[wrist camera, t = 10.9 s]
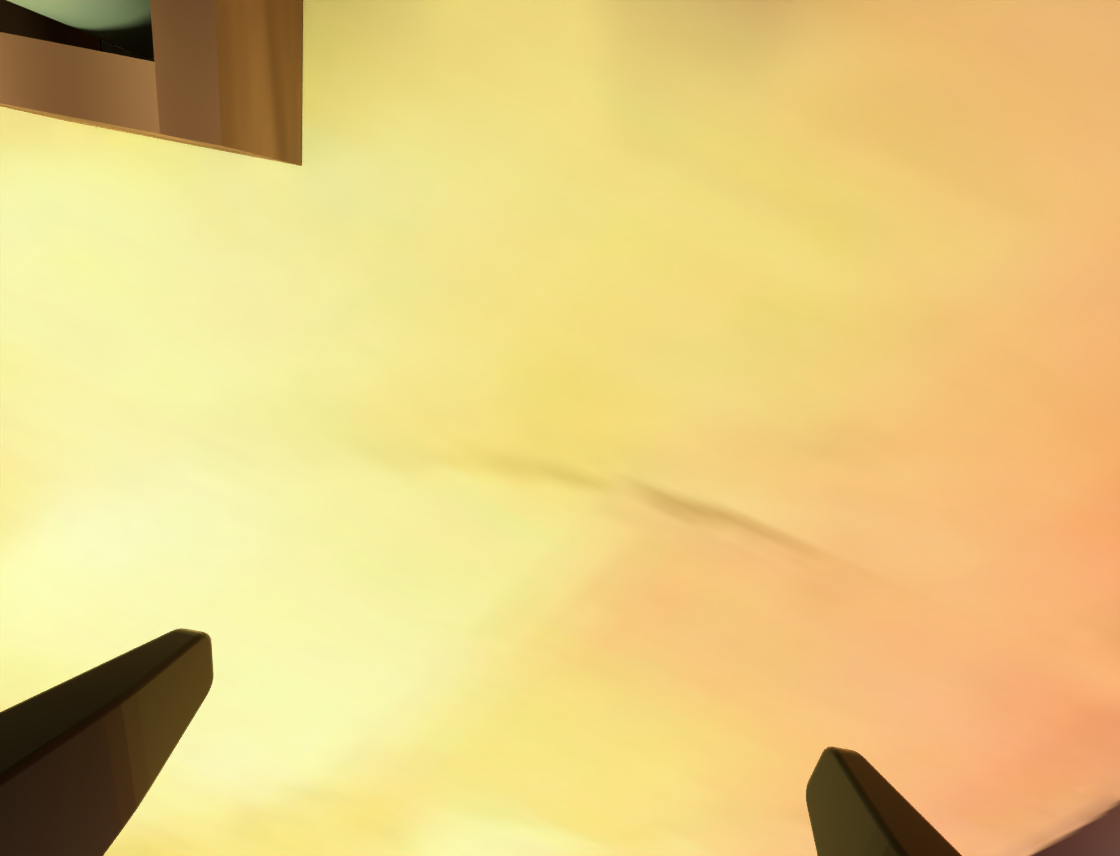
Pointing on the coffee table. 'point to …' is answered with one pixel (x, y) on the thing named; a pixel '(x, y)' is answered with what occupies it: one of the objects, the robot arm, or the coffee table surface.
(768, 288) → the coffee table surface
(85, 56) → the socket block
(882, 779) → the robot arm
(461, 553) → the coffee table surface
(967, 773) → the coffee table surface
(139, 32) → the dowel
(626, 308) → the coffee table surface
